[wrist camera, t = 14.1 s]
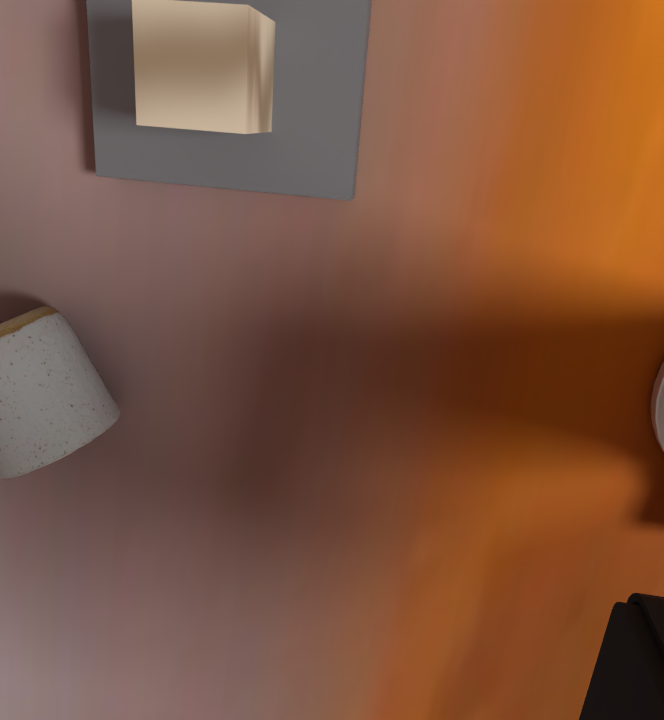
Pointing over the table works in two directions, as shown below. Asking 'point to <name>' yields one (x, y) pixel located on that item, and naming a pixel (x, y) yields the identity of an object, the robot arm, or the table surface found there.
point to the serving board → (233, 150)
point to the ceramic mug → (47, 393)
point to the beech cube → (203, 66)
